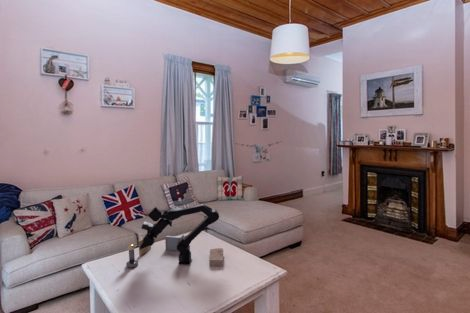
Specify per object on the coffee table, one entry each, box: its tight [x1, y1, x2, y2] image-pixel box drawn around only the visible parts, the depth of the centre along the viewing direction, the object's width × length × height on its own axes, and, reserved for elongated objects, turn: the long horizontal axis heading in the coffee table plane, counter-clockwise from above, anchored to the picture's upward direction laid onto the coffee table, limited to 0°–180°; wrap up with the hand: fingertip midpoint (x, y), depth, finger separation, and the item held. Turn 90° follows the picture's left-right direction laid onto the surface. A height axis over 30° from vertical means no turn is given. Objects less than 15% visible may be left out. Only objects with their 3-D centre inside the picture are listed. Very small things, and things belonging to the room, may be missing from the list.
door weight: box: [125, 243, 139, 269], centre depth 165 cm, size 6×6×13 cm
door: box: [138, 237, 152, 257], centre depth 184 cm, size 1×13×10 cm, turn 167°
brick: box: [208, 247, 224, 268], centre depth 172 cm, size 17×8×5 cm, turn 3°
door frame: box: [164, 235, 182, 252], centre depth 189 cm, size 25×2×9 cm, turn 77°
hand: (141, 245), depth 166 cm, fingers open, 9 cm apart
